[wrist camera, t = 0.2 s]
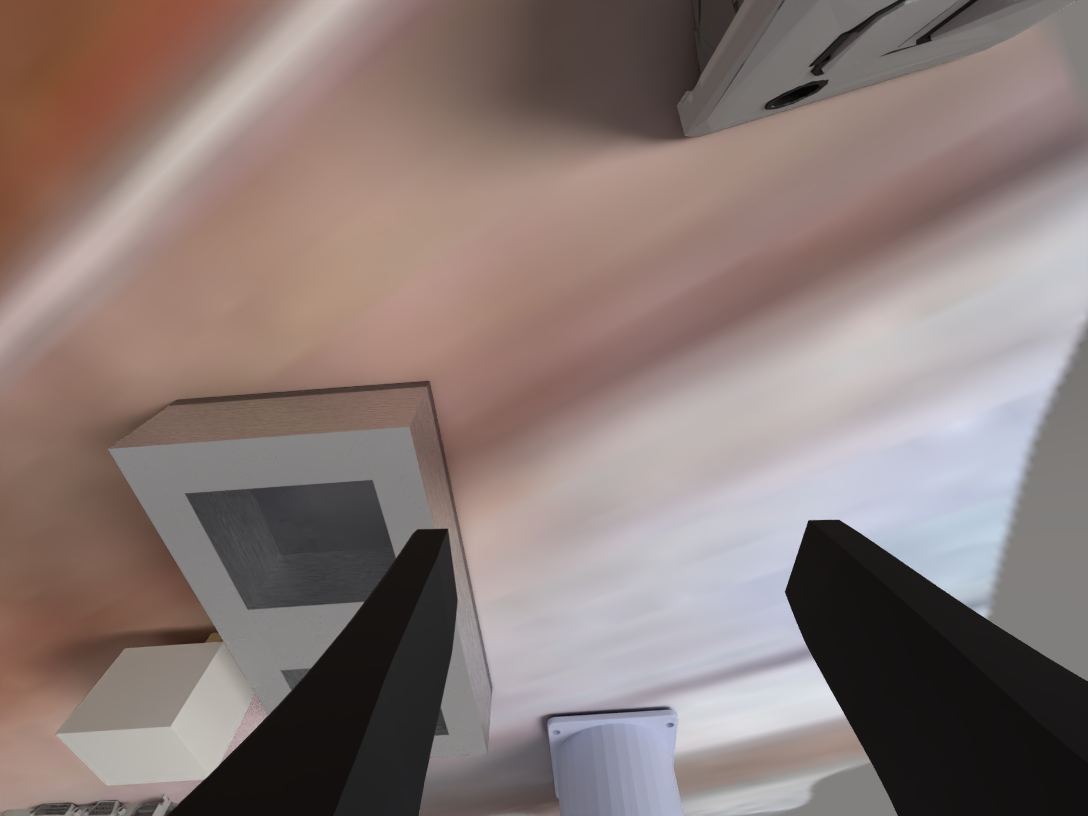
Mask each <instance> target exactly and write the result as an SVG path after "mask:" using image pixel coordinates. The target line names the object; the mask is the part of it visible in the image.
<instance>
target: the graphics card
mask: <svg viewBox="0 0 1088 816" xmlns="http://www.w3.org/2000/svg"><path fill="white" fill-rule="evenodd" d="M163 799H164V802H156V803H137V804H120V803H119V802H118V801H99V802H98V803H97V804H96V805H95V806H78V807H76V806H75V805H73V804H72V803H66V804H42V805H41V806H40V807H39V808H37V809H17V810H7V811H6V813H5V814H4V815H3V816H166V815H167V814H168V813H169V812H171V811H172V810H173V809H174V808H175V807H176V806H177V805H178V804H176V803H173V802H171V800H170V799H169V800H168V796H167V795H166V794H164V796H163Z"/></svg>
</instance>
